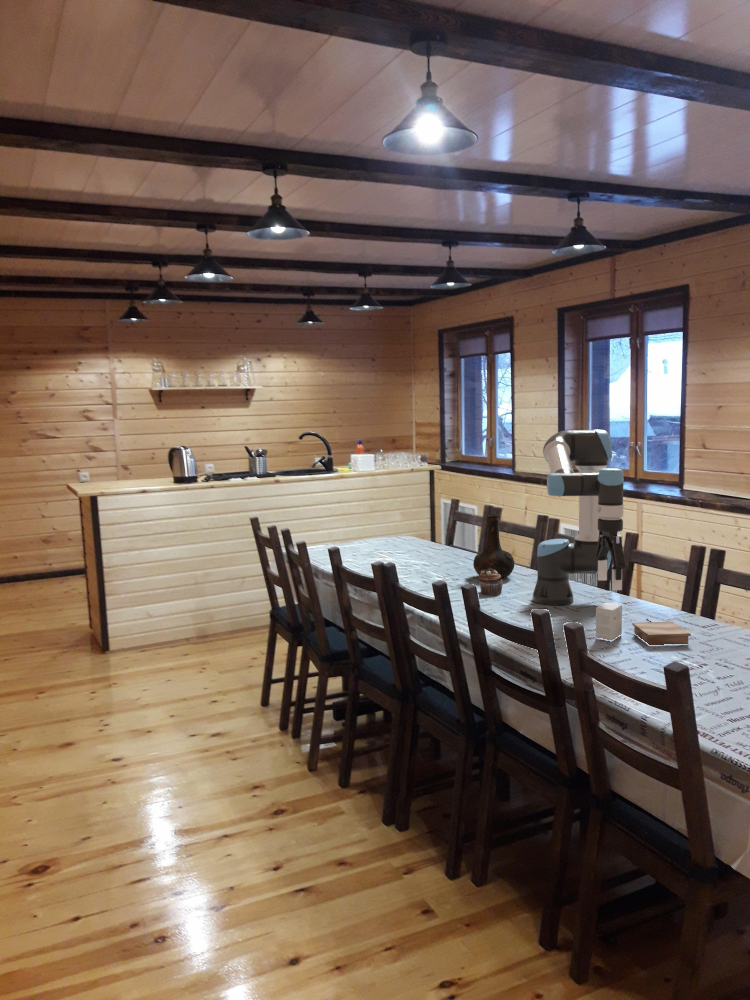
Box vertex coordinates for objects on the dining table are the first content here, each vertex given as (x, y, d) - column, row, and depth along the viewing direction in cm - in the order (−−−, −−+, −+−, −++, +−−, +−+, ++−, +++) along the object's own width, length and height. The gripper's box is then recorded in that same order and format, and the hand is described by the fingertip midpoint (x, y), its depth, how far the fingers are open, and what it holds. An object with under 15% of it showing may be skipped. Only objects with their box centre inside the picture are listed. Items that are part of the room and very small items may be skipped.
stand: (632, 634, 236) (632, 622, 236) (672, 633, 237) (672, 621, 236) (648, 647, 224) (648, 634, 223) (690, 646, 224) (690, 633, 223)
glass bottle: (502, 584, 309) (502, 518, 306) (465, 579, 320) (465, 515, 317) (521, 576, 323) (521, 513, 320) (485, 572, 334) (485, 511, 331)
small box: (605, 633, 239) (605, 601, 237) (622, 636, 235) (622, 604, 234) (595, 639, 233) (595, 607, 231) (612, 642, 229) (612, 609, 228)
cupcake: (492, 597, 289) (492, 572, 288) (474, 592, 296) (473, 568, 295) (508, 592, 295) (508, 568, 294) (490, 588, 303) (489, 564, 301)
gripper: (585, 513, 242) (585, 576, 244) (612, 524, 217) (611, 594, 219) (608, 512, 242) (607, 576, 244) (637, 523, 217) (636, 593, 219)
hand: (609, 585), depth 232 cm, fingers open, 13 cm apart
